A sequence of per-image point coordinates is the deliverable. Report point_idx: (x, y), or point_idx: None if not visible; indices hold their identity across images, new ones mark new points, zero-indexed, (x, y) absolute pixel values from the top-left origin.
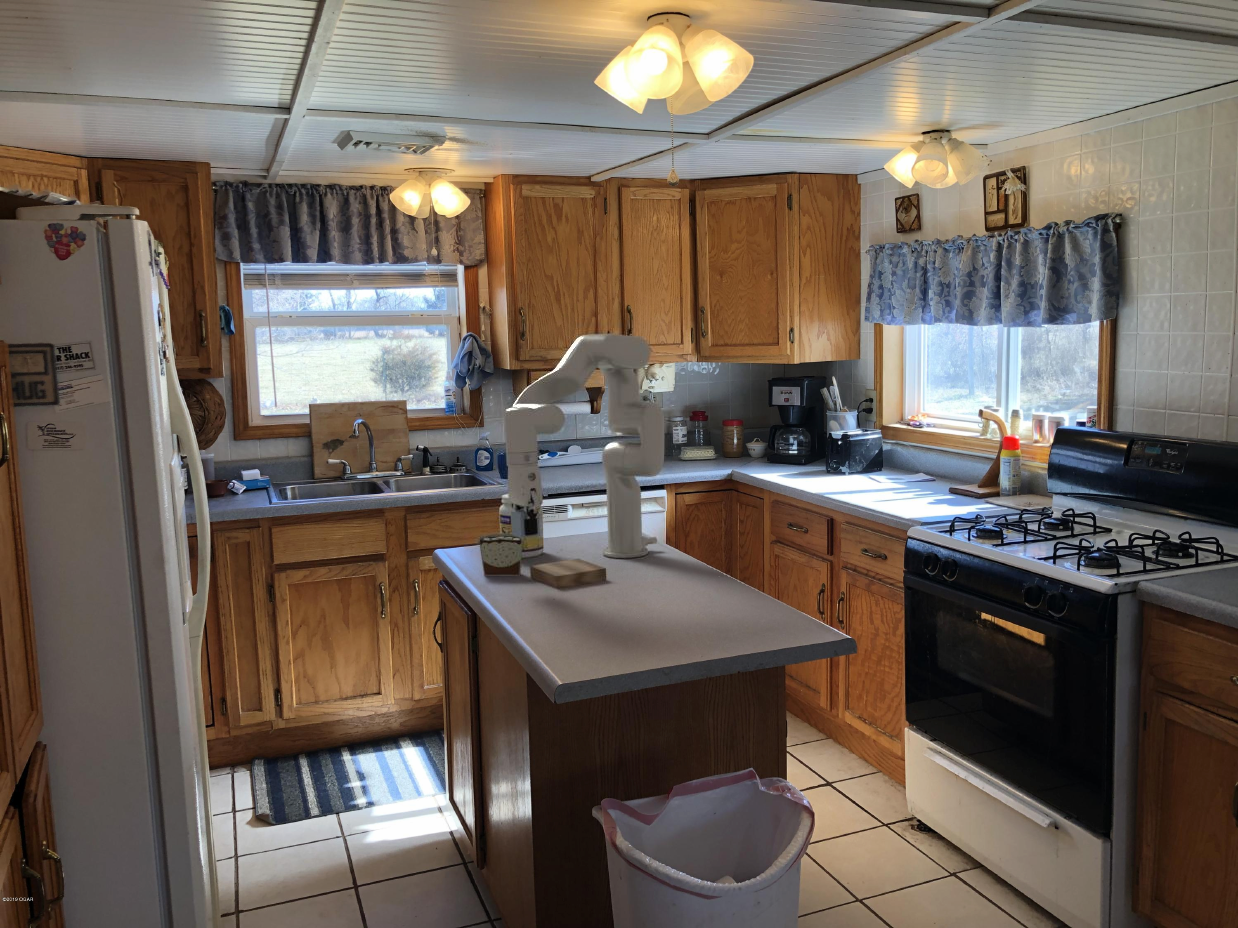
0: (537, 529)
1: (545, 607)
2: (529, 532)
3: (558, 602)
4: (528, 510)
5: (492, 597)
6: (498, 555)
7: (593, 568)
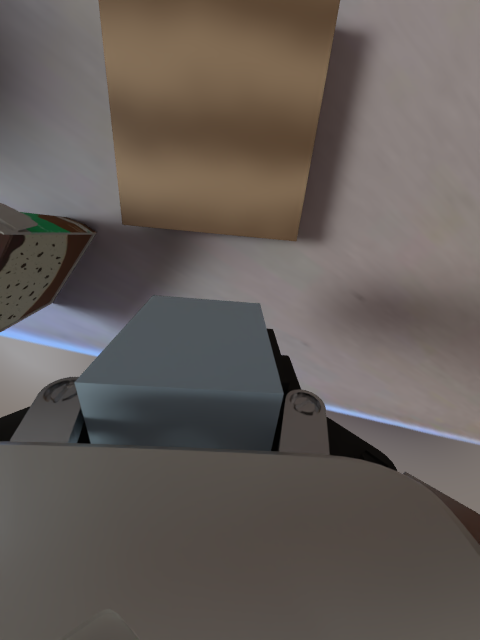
0: (275, 338)
1: (391, 341)
2: None
3: (387, 304)
4: (191, 434)
5: None
6: (25, 290)
7: (304, 47)
